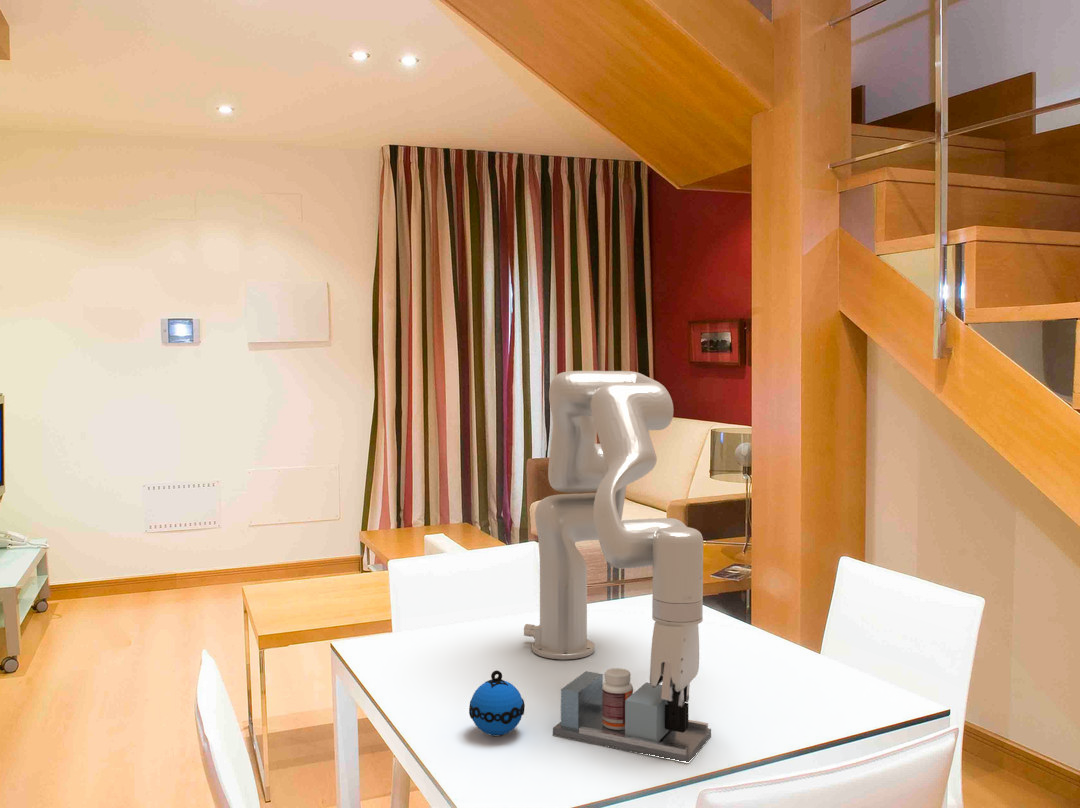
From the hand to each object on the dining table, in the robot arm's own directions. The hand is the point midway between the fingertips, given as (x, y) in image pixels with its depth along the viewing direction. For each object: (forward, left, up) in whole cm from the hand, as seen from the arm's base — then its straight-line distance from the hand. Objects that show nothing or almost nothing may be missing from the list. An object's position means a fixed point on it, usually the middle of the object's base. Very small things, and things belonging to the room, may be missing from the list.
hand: (676, 728), depth 138 cm
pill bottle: (-10, 0, -2) cm, 10 cm away
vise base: (-7, 0, -3) cm, 8 cm away
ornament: (-26, -9, -3) cm, 28 cm away
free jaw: (-4, 0, -1) cm, 4 cm away
